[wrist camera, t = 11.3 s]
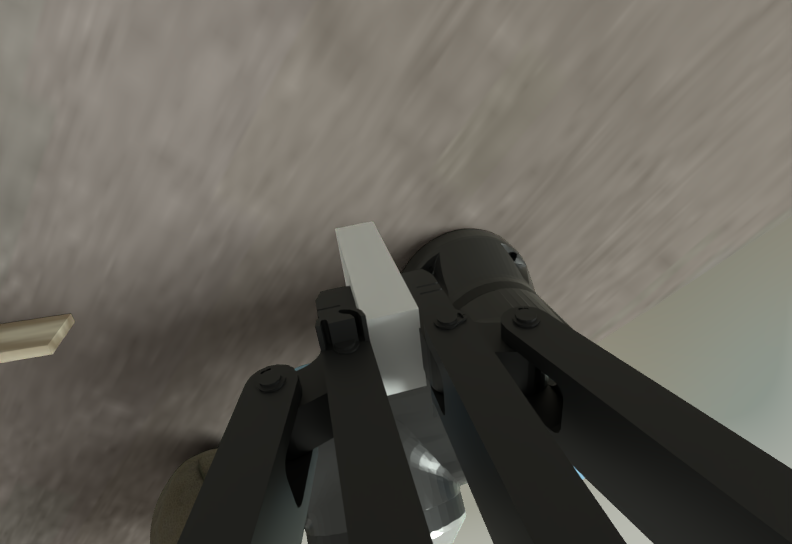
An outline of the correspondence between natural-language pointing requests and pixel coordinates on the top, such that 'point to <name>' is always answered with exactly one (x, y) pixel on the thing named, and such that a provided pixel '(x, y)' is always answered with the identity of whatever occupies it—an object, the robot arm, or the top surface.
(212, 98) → the top surface
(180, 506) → the cantaloupe
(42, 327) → the corral
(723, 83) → the top surface
